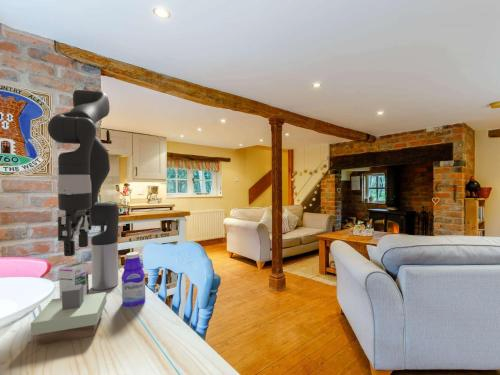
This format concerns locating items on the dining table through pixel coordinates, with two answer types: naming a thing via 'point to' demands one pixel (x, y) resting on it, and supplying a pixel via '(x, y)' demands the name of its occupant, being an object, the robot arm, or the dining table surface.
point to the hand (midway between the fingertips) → (76, 251)
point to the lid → (70, 311)
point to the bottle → (133, 281)
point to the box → (67, 334)
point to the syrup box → (74, 276)
